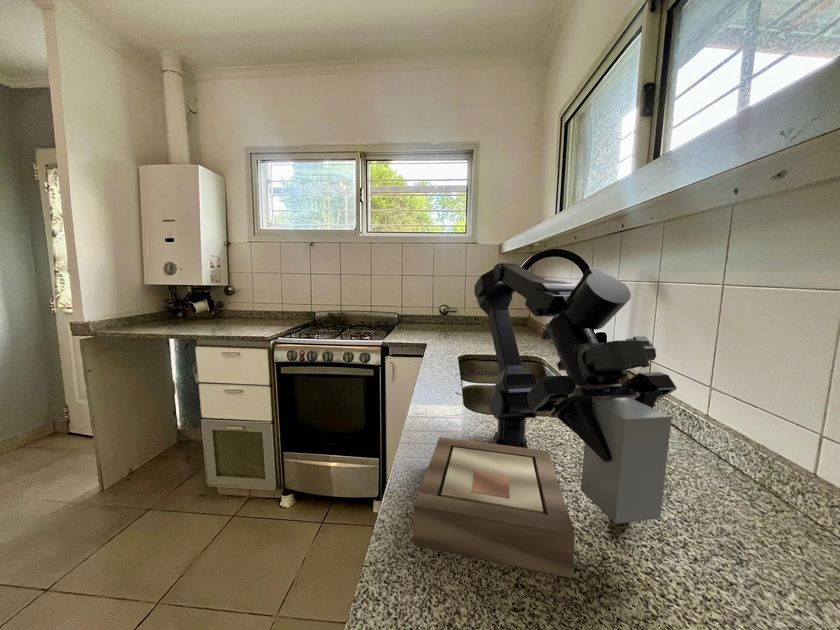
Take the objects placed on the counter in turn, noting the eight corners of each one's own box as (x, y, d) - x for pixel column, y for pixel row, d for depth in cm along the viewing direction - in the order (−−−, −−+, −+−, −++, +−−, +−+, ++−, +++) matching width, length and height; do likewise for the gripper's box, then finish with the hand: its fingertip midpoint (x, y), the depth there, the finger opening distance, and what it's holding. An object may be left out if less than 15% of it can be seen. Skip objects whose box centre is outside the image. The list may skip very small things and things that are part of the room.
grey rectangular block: (580, 490, 43) (588, 399, 41) (620, 486, 44) (629, 397, 42) (615, 523, 37) (625, 419, 35) (660, 518, 38) (671, 416, 36)
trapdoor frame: (438, 465, 60) (439, 437, 59) (546, 481, 56) (548, 450, 55) (413, 545, 41) (414, 505, 41) (571, 578, 37) (575, 534, 37)
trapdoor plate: (453, 452, 56) (453, 446, 56) (531, 463, 53) (532, 457, 53) (440, 501, 43) (441, 493, 43) (542, 518, 40) (543, 510, 40)
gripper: (543, 313, 40) (601, 442, 30) (670, 314, 43) (759, 430, 34) (511, 360, 48) (548, 472, 39) (619, 357, 52) (678, 460, 42)
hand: (632, 458), depth 38 cm, fingers closed on grey rectangular block, 6 cm apart
